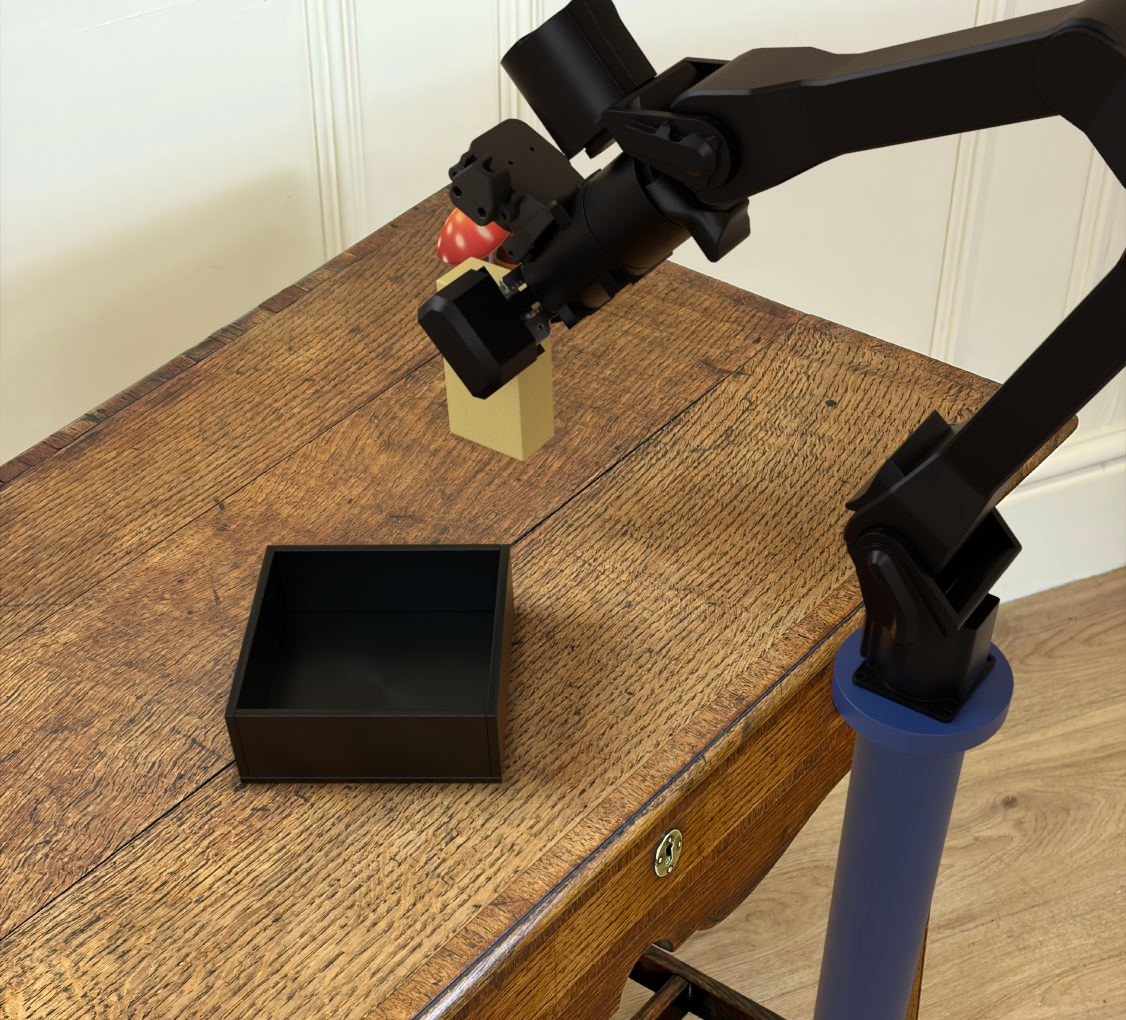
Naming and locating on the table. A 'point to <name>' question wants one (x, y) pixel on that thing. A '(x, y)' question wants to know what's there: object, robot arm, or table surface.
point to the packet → (503, 395)
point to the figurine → (472, 242)
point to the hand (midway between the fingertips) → (479, 339)
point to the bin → (375, 665)
